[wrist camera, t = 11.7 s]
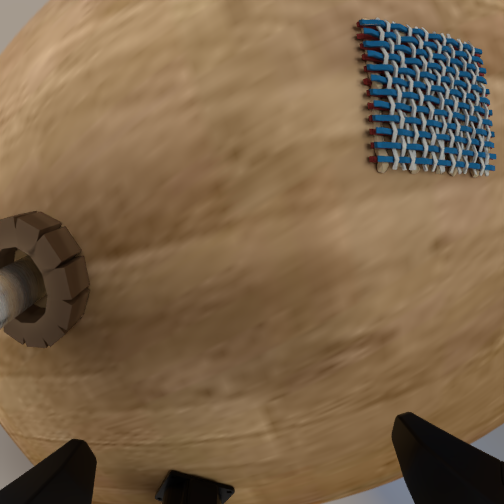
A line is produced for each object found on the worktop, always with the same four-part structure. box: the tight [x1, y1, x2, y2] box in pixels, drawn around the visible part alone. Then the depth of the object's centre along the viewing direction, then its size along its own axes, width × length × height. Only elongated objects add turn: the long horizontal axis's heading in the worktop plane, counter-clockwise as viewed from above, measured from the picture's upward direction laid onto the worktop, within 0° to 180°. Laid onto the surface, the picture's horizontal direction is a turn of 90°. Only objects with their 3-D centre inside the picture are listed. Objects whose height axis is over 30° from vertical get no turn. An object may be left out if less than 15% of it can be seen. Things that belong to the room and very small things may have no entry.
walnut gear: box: [0, 211, 90, 348], centre depth 17 cm, size 9×9×3 cm
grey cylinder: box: [0, 255, 47, 329], centre depth 14 cm, size 3×3×8 cm
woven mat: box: [357, 18, 496, 177], centre depth 16 cm, size 10×11×2 cm
